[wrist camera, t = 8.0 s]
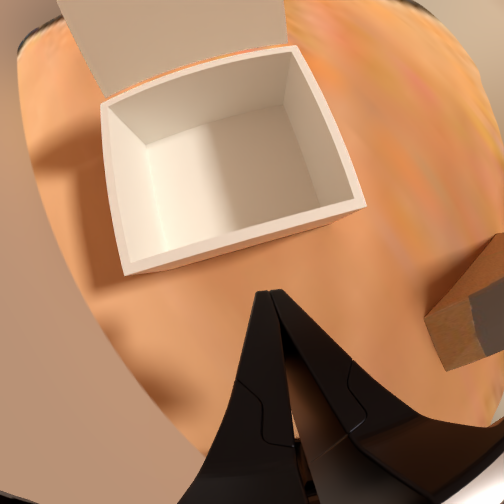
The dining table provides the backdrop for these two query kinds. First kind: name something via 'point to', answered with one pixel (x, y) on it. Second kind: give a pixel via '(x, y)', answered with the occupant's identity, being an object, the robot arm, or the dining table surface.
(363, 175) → the dining table surface
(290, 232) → the carton
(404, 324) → the dining table surface
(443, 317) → the sandwich container
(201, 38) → the carton flap
